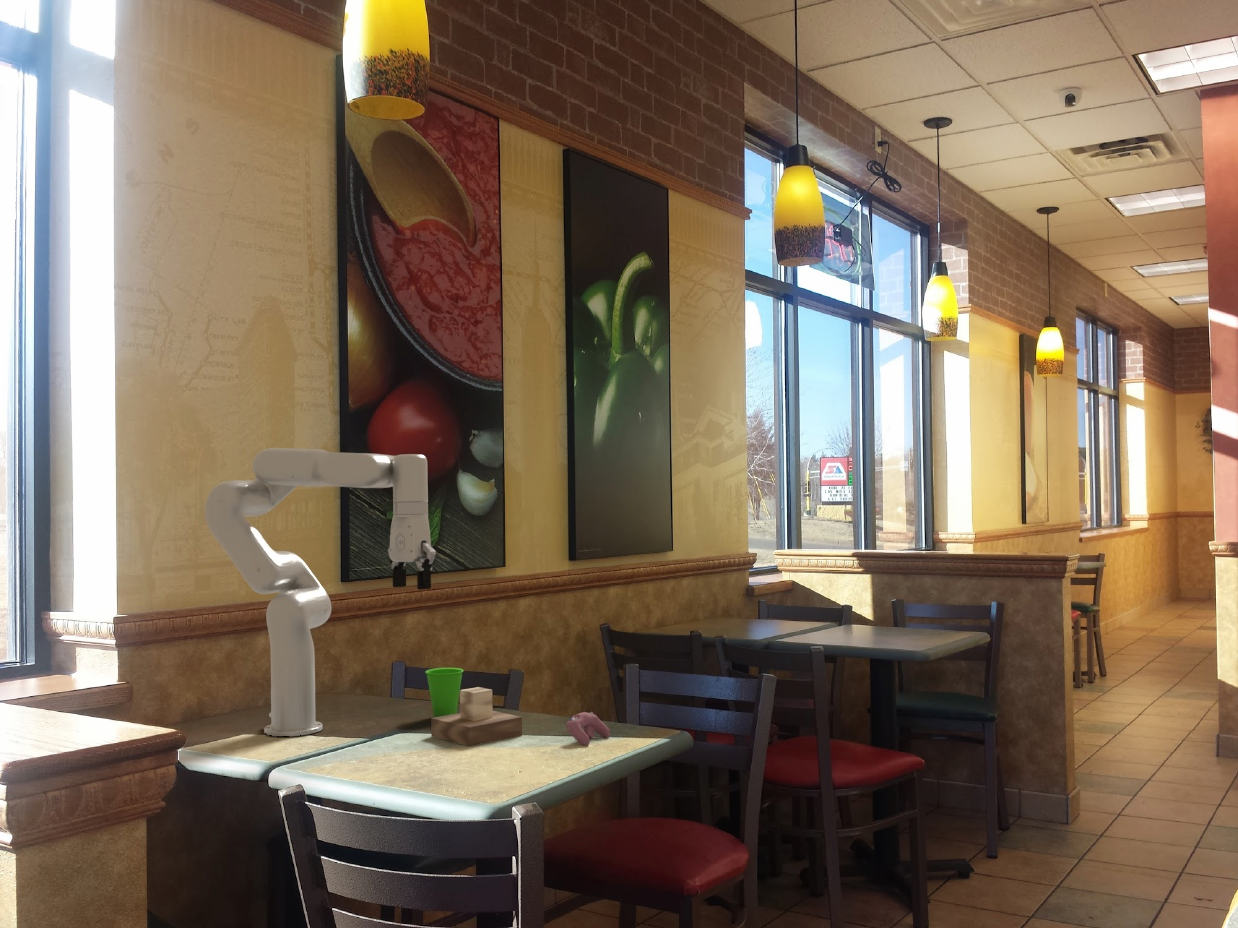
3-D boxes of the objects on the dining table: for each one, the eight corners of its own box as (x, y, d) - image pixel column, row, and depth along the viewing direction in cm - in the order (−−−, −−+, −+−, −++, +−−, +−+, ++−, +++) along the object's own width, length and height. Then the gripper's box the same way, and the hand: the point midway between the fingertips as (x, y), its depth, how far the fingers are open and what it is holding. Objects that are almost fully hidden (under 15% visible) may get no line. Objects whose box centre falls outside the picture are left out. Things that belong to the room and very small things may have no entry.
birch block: (460, 717, 241) (459, 690, 241) (478, 714, 244) (478, 686, 244) (474, 720, 237) (473, 692, 237) (492, 717, 240) (492, 689, 241)
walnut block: (431, 736, 241) (431, 717, 241) (483, 726, 250) (483, 708, 250) (469, 746, 231) (469, 727, 231) (522, 735, 240) (521, 716, 240)
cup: (457, 721, 256) (457, 673, 256) (420, 720, 257) (419, 673, 258) (469, 713, 265) (468, 667, 265) (432, 713, 266) (432, 667, 267)
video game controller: (597, 742, 239) (584, 712, 241) (613, 734, 237) (600, 704, 239) (572, 752, 231) (559, 720, 232) (589, 744, 229) (575, 712, 230)
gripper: (374, 510, 247) (375, 587, 247) (418, 510, 234) (419, 591, 234) (403, 509, 252) (404, 584, 252) (447, 509, 240) (448, 588, 239)
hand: (411, 587), depth 243 cm, fingers open, 9 cm apart
